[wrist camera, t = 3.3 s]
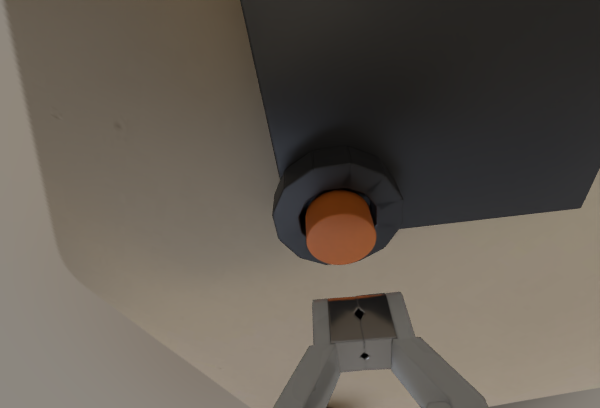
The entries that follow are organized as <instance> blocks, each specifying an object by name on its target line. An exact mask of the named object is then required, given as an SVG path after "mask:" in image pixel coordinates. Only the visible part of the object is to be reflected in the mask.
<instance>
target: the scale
mask: <svg viewBox="0 0 600 408" xmlns="http://www.w3.org/2000/svg"><path fill="white" fill-rule="evenodd" d="M240 1H241V6H242V10H243V15H244V19H245V24H246V28H247V33H248V37H249V42H250V46H251V51H252V55H253V60H254V64H255V69H256V73H257V78H258V82H259V87H260V91H261V96H262V100H263V105H264V109H265V114H266V118H267V123H268V127H269V132H270V136H271V141H272V145H273V150H274V154H275V159H276V163H277V168H278V172H279V177H280V182H279V185H278V187H277V189H276V192H275V194H274V203H273V214H272V216H273V220H274V223H275V227H276V231H277V235H278V238H279V239H280V241H281V242H282V243H284V244H285V245H286V246H287V247H288V248H289V249H290V250H292V251H293V252H294V253H295V254H296V255H297V256H299V257H300V258H303V259H306V260H310V261H314V262H317V263H321V264H325V265H330V264H328V263H325V262H322V261H320V260H318V259H316V258H315V257H314V256H313V255H312V254H311V253H310V251H309V250H308V247H307V244H306V218H305V217H306V211H307V208H308V206H309V205H310V203H311V202H312V201H313V200H314V199H315V198H316V197H318V196H319V195H321V194H323V193H326V192H329V191H333V190H346V191H351V192H353V193H356V194H358V195H359V196H361V197H362V198H363V199H364V200H365V201H366V203H367V204H368V207H369V210H370V213H371V217H372V220H373V224H374V227H375V231H376V242H375V245H374V247H373V249H372V250H371V252H370V253H369V254H368V255H366V256H365V257H364V258H366V257H368V256H370V255H372V254H373V253H375V252H377V251H379V250H381V249H383V248H384V247H386V245H387V244H388V243H389V241H390V240H391V239H392V237H393V236H394V235H395V233H396V232H397V231H398V230H399V229H403V228H412V227H420V226H429V225H438V224H447V223H455V222H464V221H473V220H482V219H490V218H499V217H508V216H516V215H525V214H534V213H543V212H551V211H560V210H569V209H578V208H581V207H582V204H583V202H584V200H585V198H586V196H587V194H588V192H589V190H590V188H591V185H592V183H593V181H594V179H595V177H596V175H597V173H598V171H599V168H600V0H240ZM364 258H362V259H364ZM362 259H360V260H362ZM360 260H358V261H360ZM356 262H357V261H356Z"/></svg>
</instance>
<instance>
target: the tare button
mask: <svg viewBox="0 0 600 408" xmlns="http://www.w3.org/2000/svg"><path fill="white" fill-rule="evenodd" d="M305 218H306V244H307V247H308V250H309V251H310V253H311V254H312V255H313V256H314V257H315V258H316V259H318V260H320V261H322V262H325V263H328V264H334V265H344V264H350V263H353V262H356V261H358V260H360V259H362V258H364V257H365V256H366V255H368V254H369V253H370V252H371V250H372V249H373V247H374V245H375V242H376V231H375V227H374V224H373V220H372V217H371V213H370V210H369V207H368V204H367V203H366V201H365V200H364V199H363V198H362V197H361V196H359V195H358V194H356V193H353V192H351V191H346V190H333V191H329V192H326V193H323V194H321V195H319V196H318V197H316V198H315V199H314V200H313V201H312V202H311V203H310V205H309V206H308V208H307V211H306V217H305Z"/></svg>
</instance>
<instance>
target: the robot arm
mask: <svg viewBox="0 0 600 408" xmlns="http://www.w3.org/2000/svg"><path fill="white" fill-rule="evenodd" d="M312 314H313V343H314V345H312V346H309V347H308V349H307V351H306V352H305V354H304V356H303V357H302V359H301V361H300V363H299V364H298V366H297V368H296V369H295V371H294V373H293V375H292V376H291V378H290V380H289V381H288V383H287V385H286V386H285V388H284V390H283V392H282V393H281V395H280V397H279V398H278V400H277V402H276V404H275V405H274V407H273V408H326V407H327V405H328V402H329V400H330V397H331V395H332V393H333V390H334V388H335V386H336V383H337V381H338V379H339V376H340V372H350V371H360V370H376V369H391V370H392V372H393V373H394V374H395V375H396V377H397V378H398V379H399V380H400V382H401V383H402V384H403V385H404V387H405V388H406V389H407V391H408V392H409V393H410V394H411V396H412V397H413V398H414V399H415V401H416V402H417V403H418V404H419V406H420V407H421V408H488V405H487V403H486V400H485V398H484V397H483V396H482V395H481V394H480V393H479V392H478V391H477V390H476V389H475V388H474V387H473V386H471V385H470V384H469V383H468V382H467V381H466V380H465V379H464V378H463V377H462V376H461V375H460V374H459V373H458V372H457V371H456V370H455V369H453V368H452V367H451V366H450V365H449V364H448V363H447V362H446V361H445V360H444V359H443V358H442V357H441V356H440V355H439V354H438V353H437V352H435V351H434V350H433V349H432V348H431V347H430V346H429V345H428V344H427V343H426V342H425V341H424V340H423V339H422V338H421V337H415V334H414V331H413V328H412V324H411V321H410V318H409V315H408V311H407V308H406V305H405V302H404V299H403V295H402V294H401V292H393V293H379V294H370V295H361V296H356V297H343V298H330V299H317V300H313V302H312Z"/></svg>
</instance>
